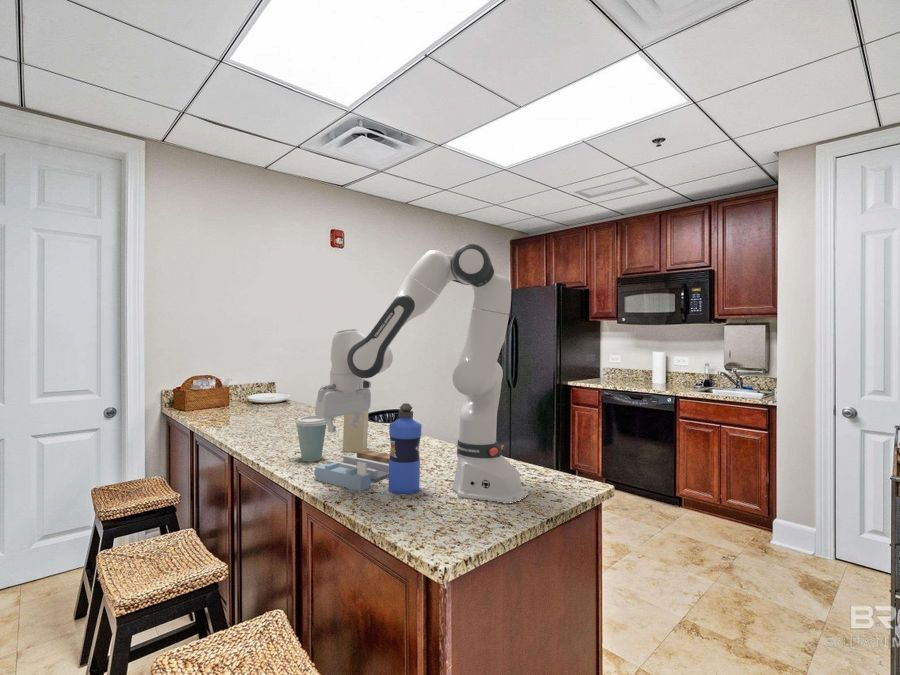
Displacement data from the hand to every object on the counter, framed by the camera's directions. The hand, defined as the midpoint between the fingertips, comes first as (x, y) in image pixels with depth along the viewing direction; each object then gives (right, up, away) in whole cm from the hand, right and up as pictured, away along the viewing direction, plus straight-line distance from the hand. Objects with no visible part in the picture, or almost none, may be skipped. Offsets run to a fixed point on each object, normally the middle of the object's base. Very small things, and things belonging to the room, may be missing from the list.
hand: (343, 429), depth 141 cm
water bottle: (+19, -17, -4) cm, 25 cm away
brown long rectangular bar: (+8, -17, +24) cm, 31 cm away
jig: (+2, -16, +12) cm, 21 cm away
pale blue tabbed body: (0, -16, 0) cm, 16 cm away
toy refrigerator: (-5, -16, +42) cm, 45 cm away
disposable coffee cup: (-17, -16, +26) cm, 35 cm away
